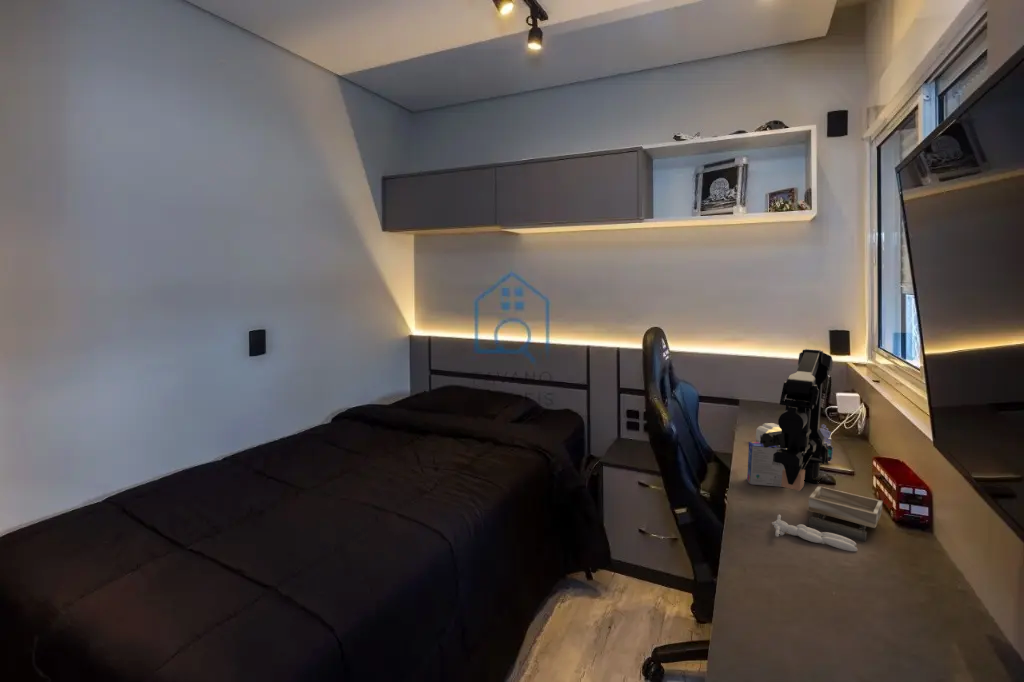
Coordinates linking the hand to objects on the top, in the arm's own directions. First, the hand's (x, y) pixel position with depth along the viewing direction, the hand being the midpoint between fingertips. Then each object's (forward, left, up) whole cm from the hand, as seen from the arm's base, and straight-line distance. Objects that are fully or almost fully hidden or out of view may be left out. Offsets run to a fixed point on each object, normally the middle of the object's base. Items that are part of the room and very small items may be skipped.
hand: (793, 481), depth 142 cm
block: (0, 0, -1) cm, 1 cm away
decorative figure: (+15, +8, -8) cm, 19 cm away
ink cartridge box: (-15, -11, -8) cm, 20 cm away
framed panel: (-7, +12, -8) cm, 16 cm away
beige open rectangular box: (-2, +12, -8) cm, 14 cm away
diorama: (-52, -13, -8) cm, 54 cm away
